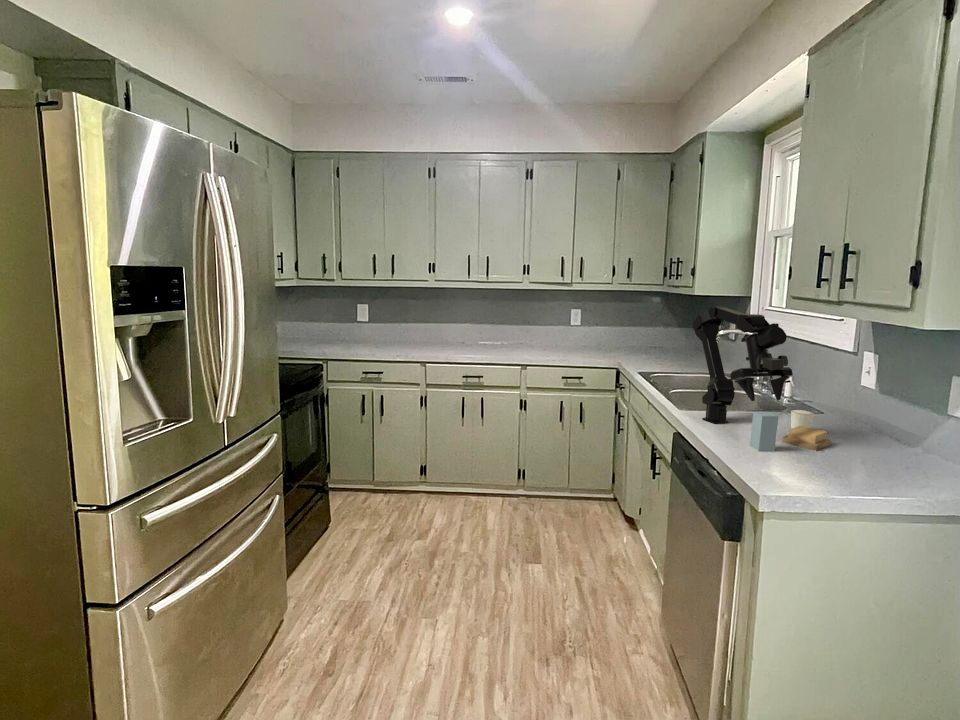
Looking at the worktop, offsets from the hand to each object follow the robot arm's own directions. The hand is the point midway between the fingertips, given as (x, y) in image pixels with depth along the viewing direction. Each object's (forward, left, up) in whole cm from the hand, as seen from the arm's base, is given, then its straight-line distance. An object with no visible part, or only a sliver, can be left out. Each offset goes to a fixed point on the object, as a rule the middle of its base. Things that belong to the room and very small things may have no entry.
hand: (766, 400), depth 180 cm
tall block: (+5, -6, -14) cm, 16 cm away
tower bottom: (+6, +12, -14) cm, 20 cm away
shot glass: (-4, +22, -14) cm, 26 cm away
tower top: (+6, +12, -12) cm, 18 cm away
